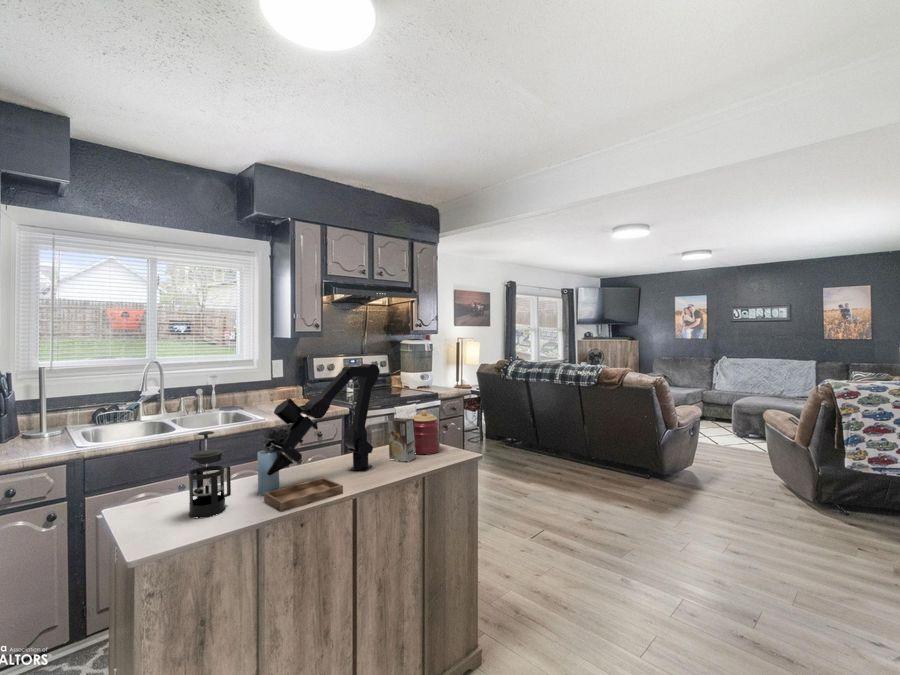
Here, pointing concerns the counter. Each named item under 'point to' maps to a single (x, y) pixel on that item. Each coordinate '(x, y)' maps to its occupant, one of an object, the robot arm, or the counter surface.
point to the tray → (302, 494)
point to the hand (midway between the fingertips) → (264, 472)
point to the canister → (426, 433)
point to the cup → (264, 464)
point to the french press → (207, 495)
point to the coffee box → (401, 439)
